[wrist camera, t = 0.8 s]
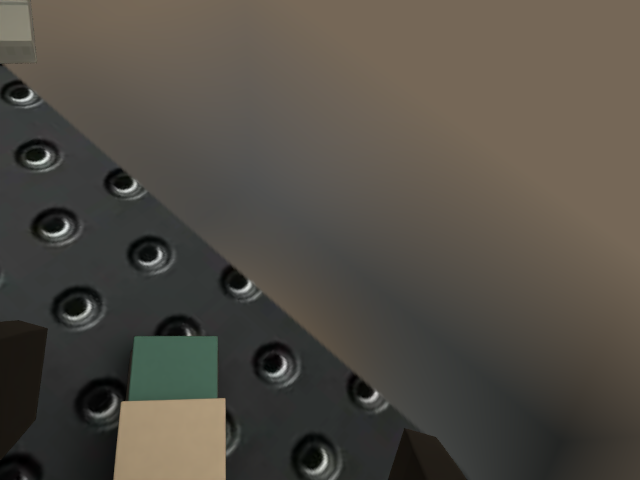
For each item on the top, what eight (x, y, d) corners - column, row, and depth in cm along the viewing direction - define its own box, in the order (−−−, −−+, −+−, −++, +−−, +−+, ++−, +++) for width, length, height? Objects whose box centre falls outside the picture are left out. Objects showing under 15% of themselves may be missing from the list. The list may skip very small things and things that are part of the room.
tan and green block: (214, 613, 21) (227, 625, 17) (106, 629, 20) (95, 646, 16) (216, 354, 27) (226, 321, 23) (131, 355, 26) (127, 320, 22)
